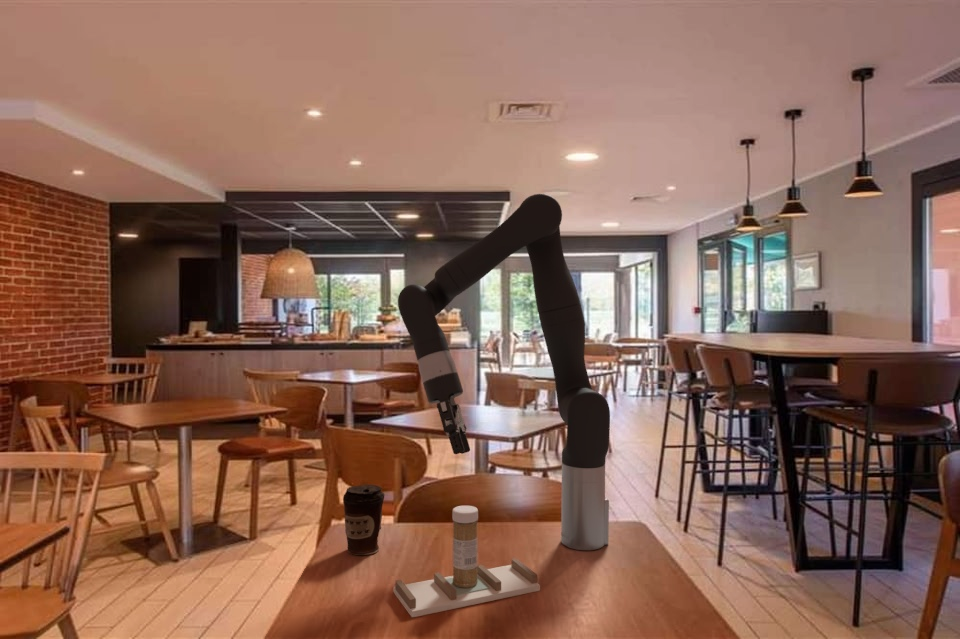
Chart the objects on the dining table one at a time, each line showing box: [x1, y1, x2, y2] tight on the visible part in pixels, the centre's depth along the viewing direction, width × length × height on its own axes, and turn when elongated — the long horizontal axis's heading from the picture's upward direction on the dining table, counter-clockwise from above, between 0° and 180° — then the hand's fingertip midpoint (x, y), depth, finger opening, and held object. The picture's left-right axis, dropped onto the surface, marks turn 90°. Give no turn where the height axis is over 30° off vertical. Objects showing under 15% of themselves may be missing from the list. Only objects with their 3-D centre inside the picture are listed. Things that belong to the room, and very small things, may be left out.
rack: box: [393, 558, 541, 618], centre depth 113 cm, size 24×10×2 cm, turn 115°
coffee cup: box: [342, 484, 385, 556], centre depth 131 cm, size 9×8×13 cm
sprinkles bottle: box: [451, 505, 479, 588], centre depth 113 cm, size 5×5×13 cm
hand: (462, 452), depth 128 cm, fingers open, 8 cm apart
